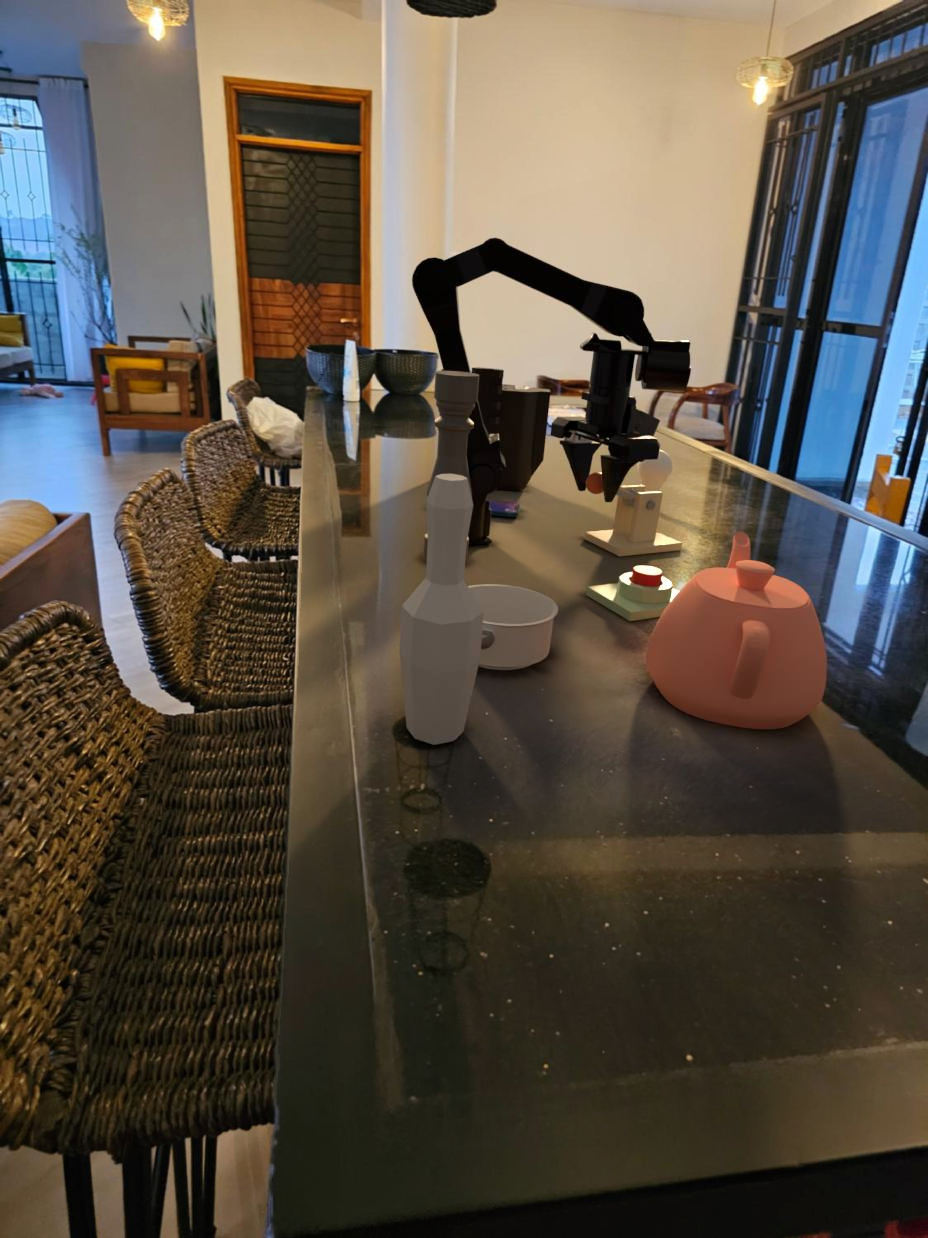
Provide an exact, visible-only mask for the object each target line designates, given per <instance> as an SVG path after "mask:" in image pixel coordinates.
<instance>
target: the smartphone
mask: <svg viewBox="0 0 928 1238" xmlns="http://www.w3.org/2000/svg"><path fill="white" fill-rule="evenodd" d="M489 501H490V504H489V509H490V510H491V516H498V517H508V518H515V517H518V516H519V514H520V509H521V504H520V503H518V502H512V501H511V502H509V501H498V500H489Z"/></svg>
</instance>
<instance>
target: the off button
mask: <svg viewBox="0 0 928 1238" xmlns="http://www.w3.org/2000/svg"><path fill="white" fill-rule="evenodd" d="M631 572H632V578H631V582H633V583H635V584H637V585H641V586H648V587H657V586H660V583H661V578H662V577H663V571H662V569H660V568H658V567H655V566H652V565H635V566H633V567H632V571H631Z"/></svg>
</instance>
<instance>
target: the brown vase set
mask: <svg viewBox="0 0 928 1238" xmlns="http://www.w3.org/2000/svg"><path fill="white" fill-rule="evenodd" d="M440 371H443V368H441V369H440ZM504 372H505V370H504V369H501V368H493V367H492V368H491V367H478V366H477V367H471V373H475V374H479V388H478V403H479V407H480V411H481V415H482V419H483V423H484V425H485V428H486V430H487V432H488V434H489V436H490V435H495V434H499V443H500V451H501V454H502V455H503V457H504V458H505V465H506V469H502V482H501V484H500V485H499V487H498V488H497V489H496V490H500V491H502V490H503V491H514V492H516V491H518V492H519V491H524V489H525V488H526V487H527V486H528V484H529V482H530V481H531V479H532V477H533V476H534V474H535V473H536V471H537V470H538V469H539V467H540V466H541V464H542V463H543V462H544V457H545V449H546V448H545V447H546V438H547V430H548V422H549V421H548V419H549V411H550V410H549V409H550V403H551V402H550V400H551V390H550V389H549V388H539V387H535V386H534V387H529V385H525V386H524V387H523V389H521V388H516V385H515V384H507V383H506V384H505V383H503V382H504V381H503V380H504ZM438 414H439V415H438V417H439V416H440V413H439V412H438ZM437 431H438V430H437ZM437 433H438V434H437V443H438V442H439V431H438V432H437ZM436 451H437V452H436V456H437V455H438V448H437V450H436Z"/></svg>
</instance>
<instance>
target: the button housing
mask: <svg viewBox="0 0 928 1238" xmlns="http://www.w3.org/2000/svg"><path fill="white" fill-rule="evenodd" d="M632 572H633V571H629V572H624V573H622V574H620V575H619V576H618V582H615V583H606V584H597V585H591V586H590V585H589V586H587V588H586V593H585V594H586V596H587V597H588V598H590V599H592V600H594V601H595V602H597V603H598V604H600V605H602V606H603V607H605V608H607V609H609V610H610V611H612V612H614V613H615V614H617V615H619V616H621V617H622V618H623V619H625V620H627V621H628V622H635V621H641V620H647V619H654V618H660V617H661V615H662V613H663V612H664V610H665V609H666V607H667V606H668V605H669V603H670V602H671V601H672V600H673V598H674V597H675V596H676V595H677V594H678V592H679V591H680V590H678V589H676V588H674V584H673V582H672V581H671V580H670V579H668V578H666V577H665V576H662V578H661V583H660V586H657V587H648V586H641V585H637V584H635V583H633V582H631V578H632Z"/></svg>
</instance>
